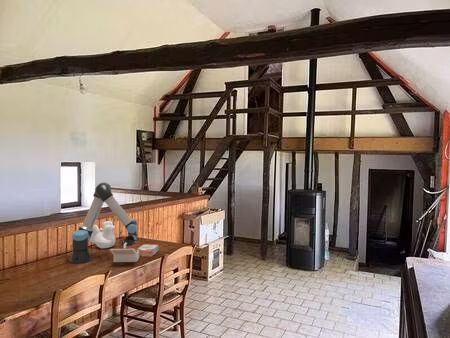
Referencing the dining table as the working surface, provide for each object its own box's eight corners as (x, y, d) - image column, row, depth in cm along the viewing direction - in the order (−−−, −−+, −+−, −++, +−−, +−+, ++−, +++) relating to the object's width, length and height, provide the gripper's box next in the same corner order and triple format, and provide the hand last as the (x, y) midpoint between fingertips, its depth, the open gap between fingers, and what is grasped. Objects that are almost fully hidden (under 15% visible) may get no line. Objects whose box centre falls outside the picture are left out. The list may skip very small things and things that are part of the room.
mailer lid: (109, 249, 262) (109, 249, 262) (134, 248, 264) (134, 249, 264) (113, 254, 274) (113, 254, 274) (136, 253, 276) (136, 254, 276)
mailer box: (117, 257, 289) (117, 250, 288) (139, 257, 290) (139, 249, 290) (113, 262, 275) (113, 254, 274) (136, 261, 276) (136, 254, 276)
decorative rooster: (118, 246, 329) (118, 219, 328) (110, 250, 313) (110, 222, 313) (93, 244, 332) (93, 218, 332) (84, 248, 317) (84, 221, 316)
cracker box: (159, 244, 311) (151, 250, 290) (159, 250, 311) (151, 257, 290) (143, 243, 312) (135, 249, 292) (143, 250, 312) (135, 256, 292)
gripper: (138, 244, 292) (133, 251, 268) (122, 244, 291) (115, 251, 267) (138, 235, 292) (133, 241, 268) (122, 235, 290) (115, 241, 267)
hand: (124, 246), depth 268 cm, fingers closed
